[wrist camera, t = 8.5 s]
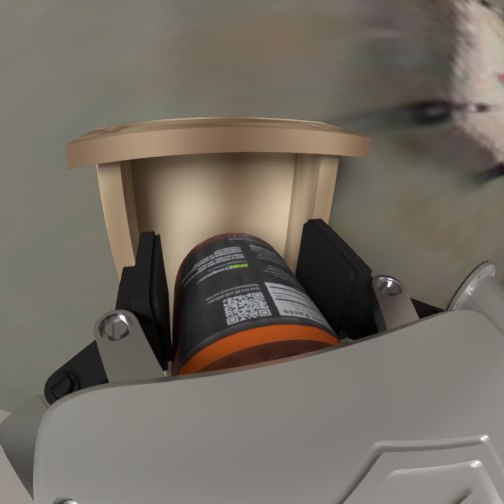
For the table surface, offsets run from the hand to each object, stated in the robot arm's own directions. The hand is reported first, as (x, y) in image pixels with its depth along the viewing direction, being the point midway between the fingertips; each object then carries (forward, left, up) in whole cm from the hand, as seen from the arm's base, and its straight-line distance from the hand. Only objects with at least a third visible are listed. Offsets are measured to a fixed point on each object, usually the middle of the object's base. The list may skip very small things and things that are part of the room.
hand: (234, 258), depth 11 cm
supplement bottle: (0, +3, -2) cm, 4 cm away
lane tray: (0, +7, -6) cm, 9 cm away
